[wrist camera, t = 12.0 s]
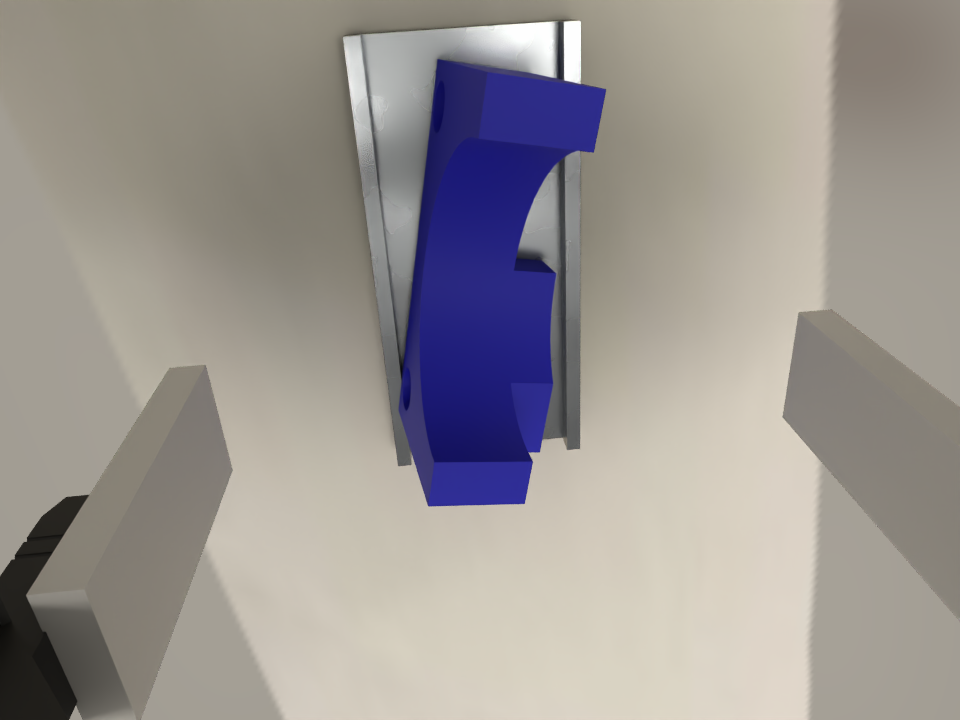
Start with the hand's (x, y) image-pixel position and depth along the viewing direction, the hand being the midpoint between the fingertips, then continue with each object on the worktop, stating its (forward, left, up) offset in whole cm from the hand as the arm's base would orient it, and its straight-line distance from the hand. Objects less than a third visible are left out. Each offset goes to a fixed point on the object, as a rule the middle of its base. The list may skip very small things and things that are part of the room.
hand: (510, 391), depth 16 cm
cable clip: (0, 0, -10) cm, 10 cm away
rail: (0, 0, -11) cm, 11 cm away
